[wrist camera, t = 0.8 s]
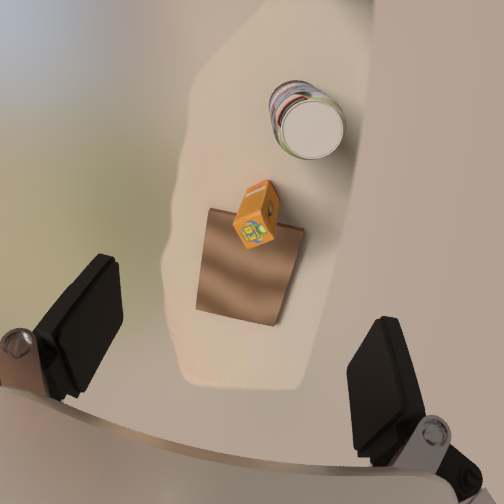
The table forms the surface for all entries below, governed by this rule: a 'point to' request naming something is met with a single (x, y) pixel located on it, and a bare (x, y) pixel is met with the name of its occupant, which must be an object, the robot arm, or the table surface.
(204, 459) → the robot arm
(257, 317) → the walnut board
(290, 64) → the table surface
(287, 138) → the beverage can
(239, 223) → the supplement box
